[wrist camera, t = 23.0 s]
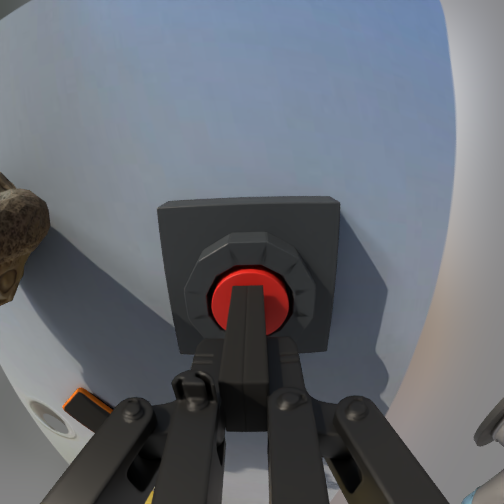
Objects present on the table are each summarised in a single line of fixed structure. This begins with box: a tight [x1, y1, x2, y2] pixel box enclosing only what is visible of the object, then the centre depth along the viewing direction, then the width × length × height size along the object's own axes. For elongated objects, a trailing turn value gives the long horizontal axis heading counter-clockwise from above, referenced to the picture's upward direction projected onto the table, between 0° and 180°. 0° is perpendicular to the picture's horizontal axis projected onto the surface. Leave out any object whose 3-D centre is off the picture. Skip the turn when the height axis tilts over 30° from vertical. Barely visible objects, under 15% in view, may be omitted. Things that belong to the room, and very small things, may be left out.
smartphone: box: [63, 388, 113, 433], centre depth 25 cm, size 8×17×1 cm, turn 45°
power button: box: [212, 265, 289, 335], centre depth 15 cm, size 4×4×2 cm
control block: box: [157, 196, 340, 355], centre depth 17 cm, size 10×10×4 cm
